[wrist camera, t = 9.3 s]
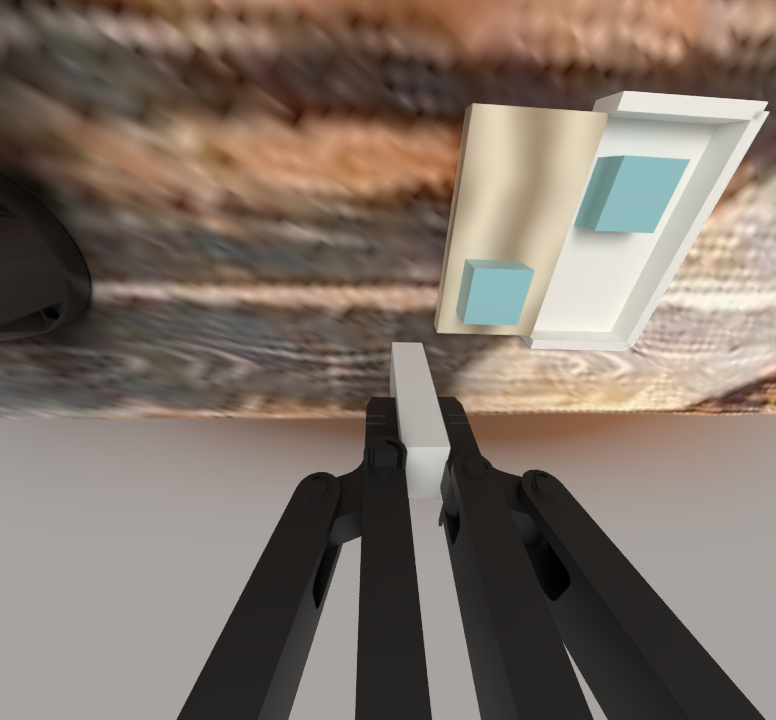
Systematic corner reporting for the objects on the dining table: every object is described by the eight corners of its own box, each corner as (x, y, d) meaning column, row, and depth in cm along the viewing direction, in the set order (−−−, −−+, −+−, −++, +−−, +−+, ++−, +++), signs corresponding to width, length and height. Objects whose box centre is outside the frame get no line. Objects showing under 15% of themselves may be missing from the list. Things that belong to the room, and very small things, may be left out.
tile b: (455, 310, 29) (463, 324, 26) (465, 258, 26) (474, 268, 23) (504, 312, 29) (517, 325, 26) (519, 261, 26) (534, 270, 24)
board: (433, 324, 32) (437, 332, 30) (465, 108, 22) (473, 103, 20) (523, 327, 32) (531, 335, 30) (592, 117, 22) (610, 113, 21)
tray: (518, 334, 33) (530, 348, 30) (595, 100, 22) (624, 90, 19) (611, 337, 33) (630, 351, 31) (730, 110, 22) (775, 102, 20)
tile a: (573, 225, 26) (594, 230, 24) (598, 157, 23) (624, 155, 21) (626, 227, 26) (653, 233, 24) (656, 161, 24) (690, 159, 21)
